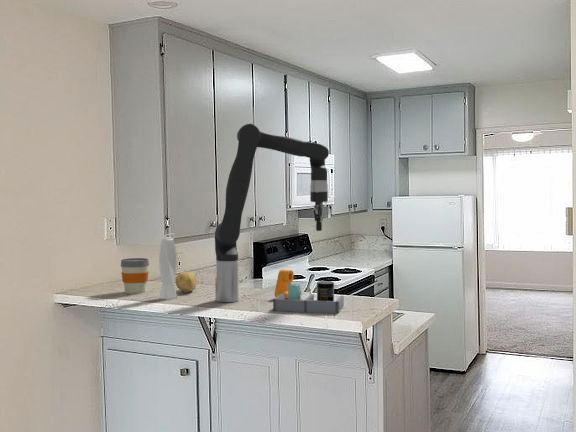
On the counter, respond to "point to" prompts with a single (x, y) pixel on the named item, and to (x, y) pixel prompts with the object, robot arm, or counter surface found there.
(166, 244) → the skyscraper
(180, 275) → the potato
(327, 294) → the supplement container
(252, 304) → the counter surface
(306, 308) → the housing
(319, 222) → the robot arm
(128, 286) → the reusable coffee cup
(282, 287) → the bracket
